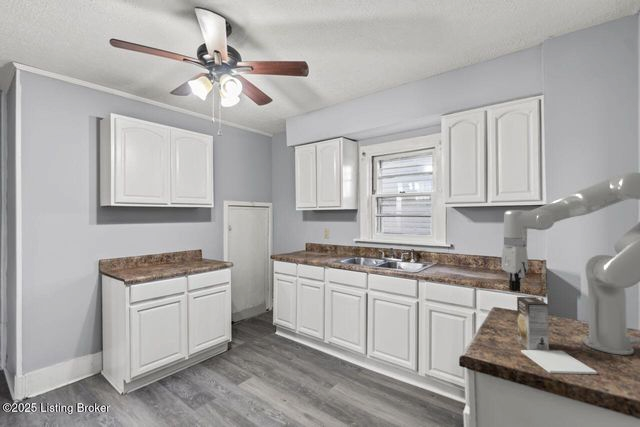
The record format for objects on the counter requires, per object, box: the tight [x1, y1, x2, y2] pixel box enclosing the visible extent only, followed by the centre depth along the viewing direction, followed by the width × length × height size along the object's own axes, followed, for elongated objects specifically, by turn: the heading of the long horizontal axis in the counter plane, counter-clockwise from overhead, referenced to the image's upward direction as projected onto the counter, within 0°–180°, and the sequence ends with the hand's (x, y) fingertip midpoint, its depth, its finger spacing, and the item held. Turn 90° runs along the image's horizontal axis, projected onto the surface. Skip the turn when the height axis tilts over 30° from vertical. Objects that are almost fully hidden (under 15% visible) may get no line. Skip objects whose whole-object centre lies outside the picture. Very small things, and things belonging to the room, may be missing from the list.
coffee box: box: [516, 296, 550, 350], centre depth 107 cm, size 9×6×16 cm
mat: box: [520, 349, 598, 375], centre depth 95 cm, size 13×14×1 cm
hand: (514, 290), depth 117 cm, fingers closed
